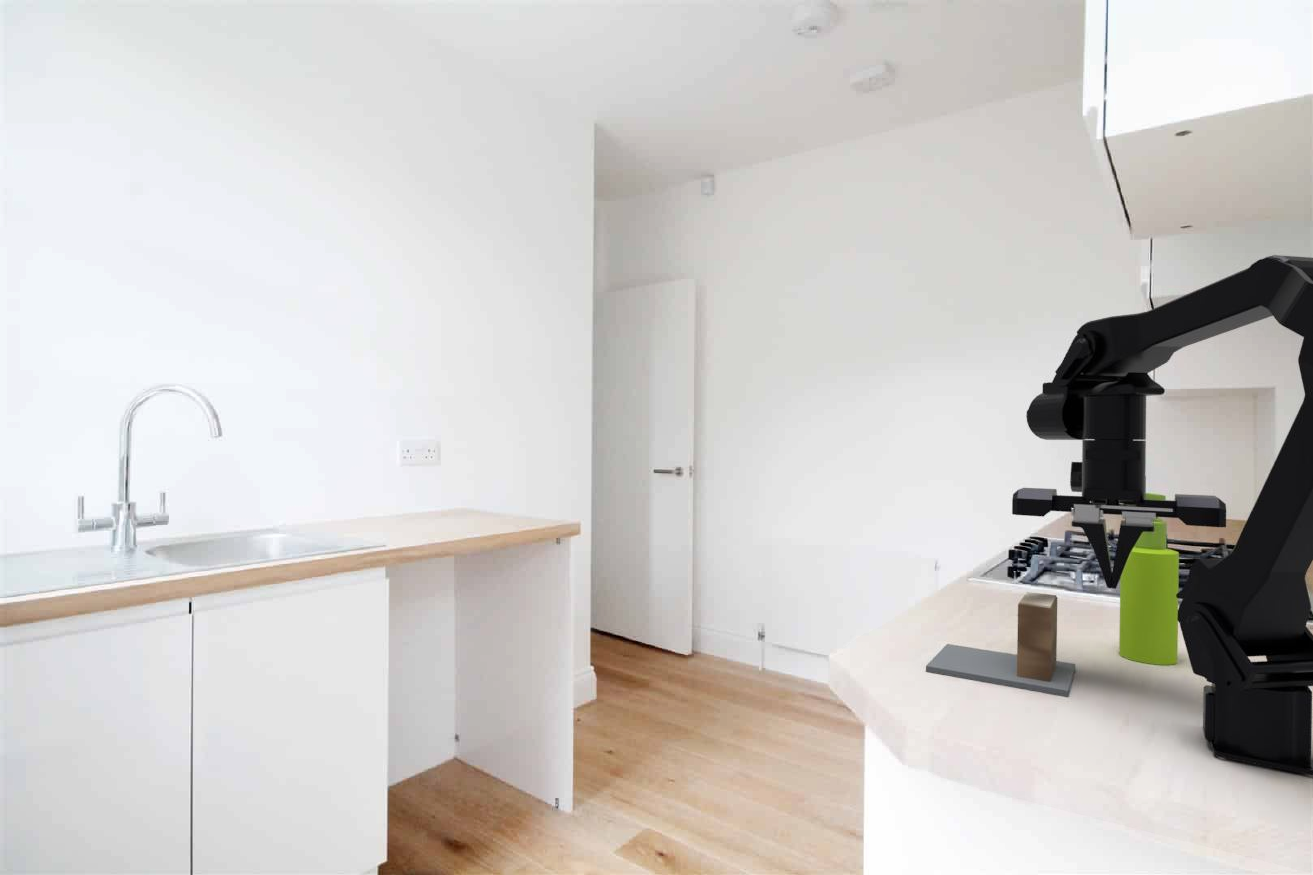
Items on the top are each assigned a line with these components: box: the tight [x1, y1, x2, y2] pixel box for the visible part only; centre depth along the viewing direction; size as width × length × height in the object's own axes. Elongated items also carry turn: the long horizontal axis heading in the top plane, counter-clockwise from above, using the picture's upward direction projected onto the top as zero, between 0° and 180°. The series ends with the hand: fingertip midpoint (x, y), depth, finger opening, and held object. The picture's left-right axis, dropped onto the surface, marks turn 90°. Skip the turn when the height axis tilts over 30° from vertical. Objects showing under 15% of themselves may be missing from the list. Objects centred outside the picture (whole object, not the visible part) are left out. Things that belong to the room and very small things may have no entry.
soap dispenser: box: [1118, 492, 1180, 666], centre depth 90 cm, size 6×7×20 cm
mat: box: [925, 643, 1076, 698], centre depth 84 cm, size 14×11×1 cm
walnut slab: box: [1016, 591, 1058, 682], centre depth 82 cm, size 3×7×8 cm, turn 147°
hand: (1111, 587), depth 78 cm, fingers closed
